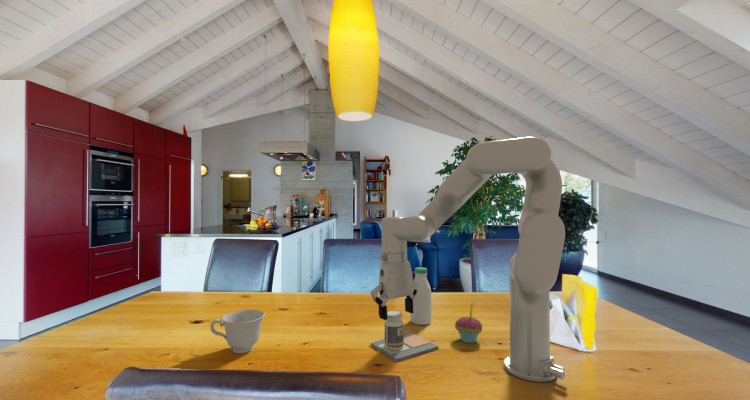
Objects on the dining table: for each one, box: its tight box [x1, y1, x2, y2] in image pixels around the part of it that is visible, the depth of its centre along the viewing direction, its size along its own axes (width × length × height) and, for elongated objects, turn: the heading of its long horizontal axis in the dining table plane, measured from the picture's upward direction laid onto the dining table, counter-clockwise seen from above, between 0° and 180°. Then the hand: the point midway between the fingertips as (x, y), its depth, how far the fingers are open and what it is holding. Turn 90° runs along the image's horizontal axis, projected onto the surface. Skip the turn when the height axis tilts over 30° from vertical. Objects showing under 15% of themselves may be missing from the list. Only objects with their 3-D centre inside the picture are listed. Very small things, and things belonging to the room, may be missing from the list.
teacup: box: [210, 309, 265, 354], centre depth 98 cm, size 12×15×10 cm
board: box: [370, 332, 439, 363], centre depth 100 cm, size 13×16×1 cm
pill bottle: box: [384, 310, 404, 350], centre depth 98 cm, size 6×6×10 cm
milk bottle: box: [409, 266, 432, 326], centre depth 123 cm, size 8×8×20 cm
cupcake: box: [454, 303, 483, 344], centre depth 106 cm, size 9×8×12 cm
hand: (396, 315), depth 98 cm, fingers open, 9 cm apart
